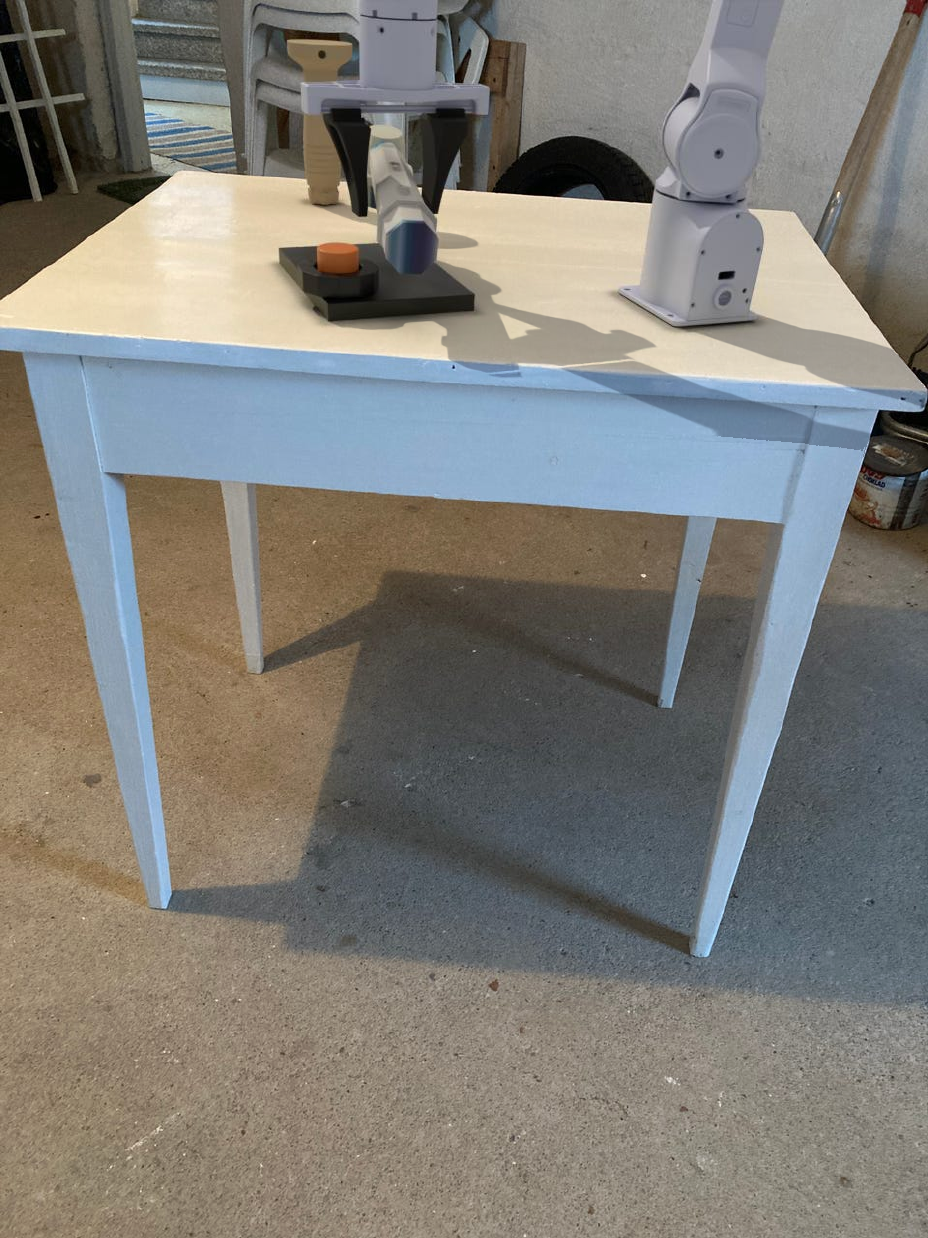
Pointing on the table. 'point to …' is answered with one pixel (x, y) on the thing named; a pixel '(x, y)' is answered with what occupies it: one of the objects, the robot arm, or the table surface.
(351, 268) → the button
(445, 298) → the scale
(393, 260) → the blue-tipped octagonal rod
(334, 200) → the handle
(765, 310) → the table surface
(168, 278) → the table surface
